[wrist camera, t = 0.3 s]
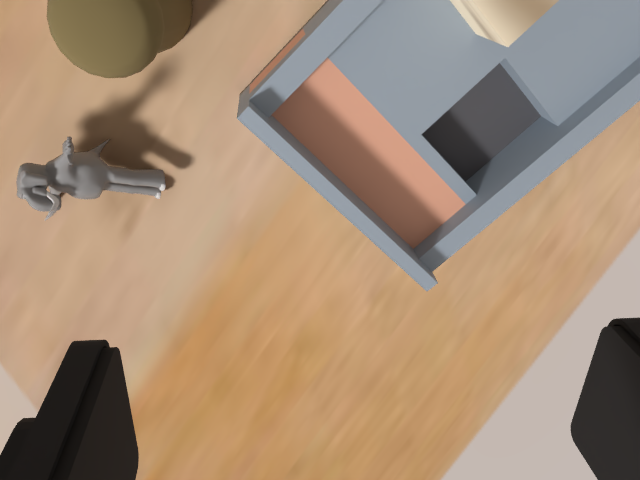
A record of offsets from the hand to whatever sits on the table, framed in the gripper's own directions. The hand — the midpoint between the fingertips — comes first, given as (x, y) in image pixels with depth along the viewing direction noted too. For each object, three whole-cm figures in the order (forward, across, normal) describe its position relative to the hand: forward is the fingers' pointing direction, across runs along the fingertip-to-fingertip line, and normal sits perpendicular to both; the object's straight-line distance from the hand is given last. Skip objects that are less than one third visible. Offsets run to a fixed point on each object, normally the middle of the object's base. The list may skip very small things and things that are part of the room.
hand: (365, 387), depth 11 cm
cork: (+30, +9, -4) cm, 32 cm away
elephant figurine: (+31, +13, +6) cm, 34 cm away
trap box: (+30, -14, -4) cm, 33 cm away
